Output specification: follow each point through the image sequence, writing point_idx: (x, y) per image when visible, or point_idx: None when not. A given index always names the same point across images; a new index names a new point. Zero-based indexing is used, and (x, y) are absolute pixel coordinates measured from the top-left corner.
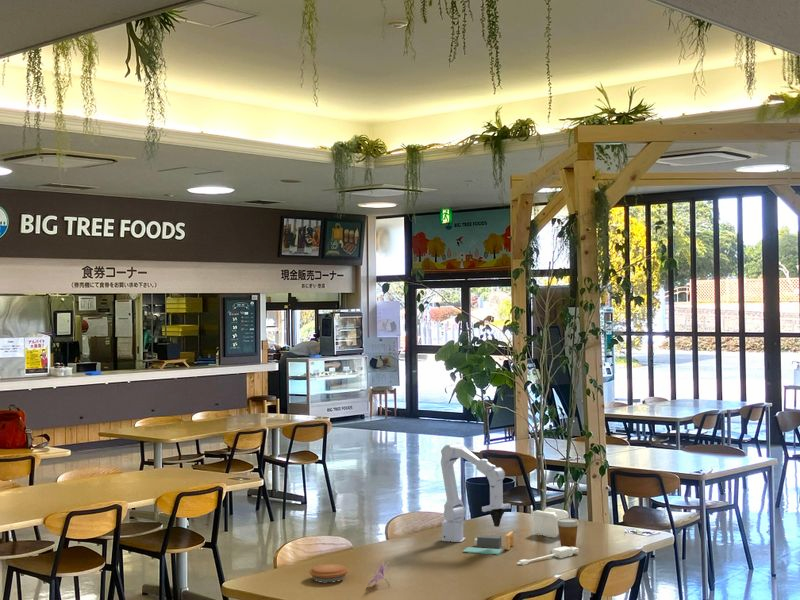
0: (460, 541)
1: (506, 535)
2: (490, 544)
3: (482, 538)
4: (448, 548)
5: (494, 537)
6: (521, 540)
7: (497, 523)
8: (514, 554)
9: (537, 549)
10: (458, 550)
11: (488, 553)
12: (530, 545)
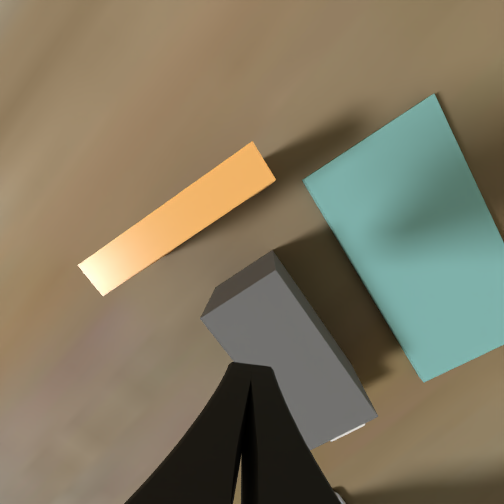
0: (338, 497)
1: (266, 173)
2: (309, 306)
3: (353, 377)
4: (495, 443)
5: (278, 323)
6: (14, 316)
7: (271, 393)
8: (324, 22)
9: (70, 32)
10: (499, 376)
11: (464, 167)
12: (42, 173)
